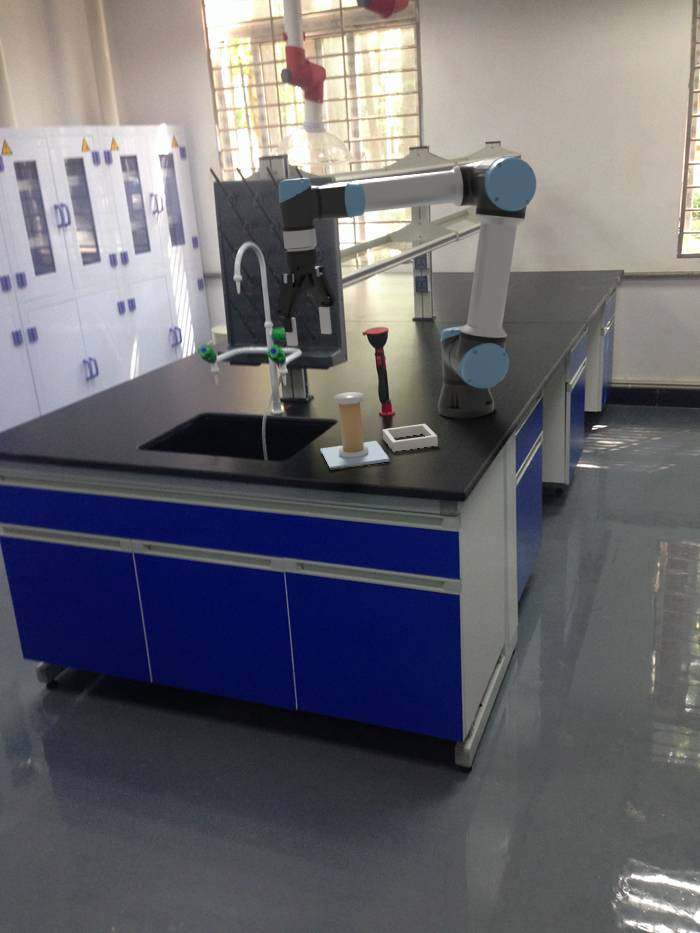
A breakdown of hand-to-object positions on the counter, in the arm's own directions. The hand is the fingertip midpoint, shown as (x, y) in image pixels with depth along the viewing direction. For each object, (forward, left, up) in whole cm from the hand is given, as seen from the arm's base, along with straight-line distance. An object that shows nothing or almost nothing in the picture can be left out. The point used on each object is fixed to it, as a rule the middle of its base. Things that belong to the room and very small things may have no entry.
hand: (310, 339), depth 200 cm
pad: (-6, +13, -27) cm, 30 cm away
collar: (-21, +8, -27) cm, 35 cm away
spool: (-6, +13, -26) cm, 29 cm away
